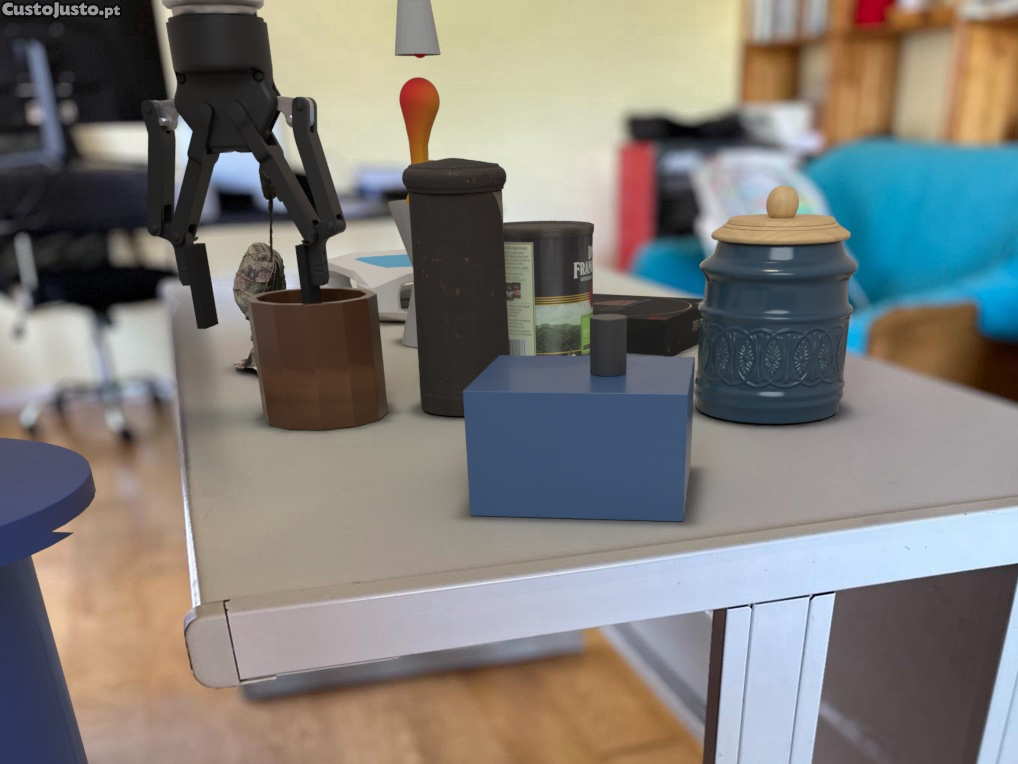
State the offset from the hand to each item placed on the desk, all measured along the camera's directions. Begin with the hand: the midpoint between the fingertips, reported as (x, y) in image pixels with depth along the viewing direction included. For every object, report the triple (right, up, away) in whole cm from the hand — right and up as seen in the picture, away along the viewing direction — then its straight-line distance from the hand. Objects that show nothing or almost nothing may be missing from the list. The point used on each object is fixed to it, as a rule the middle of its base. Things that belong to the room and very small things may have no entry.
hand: (261, 326), depth 94 cm
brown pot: (+5, -7, +3) cm, 9 cm away
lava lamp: (+11, +12, +36) cm, 39 cm away
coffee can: (+24, +1, +16) cm, 29 cm away
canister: (+44, -7, +2) cm, 45 cm away
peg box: (+28, -19, -18) cm, 38 cm away
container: (+17, -6, +5) cm, 19 cm away
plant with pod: (-5, +4, +23) cm, 24 cm away
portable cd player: (+33, +11, +33) cm, 48 cm away
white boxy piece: (+5, +26, +60) cm, 66 cm away
